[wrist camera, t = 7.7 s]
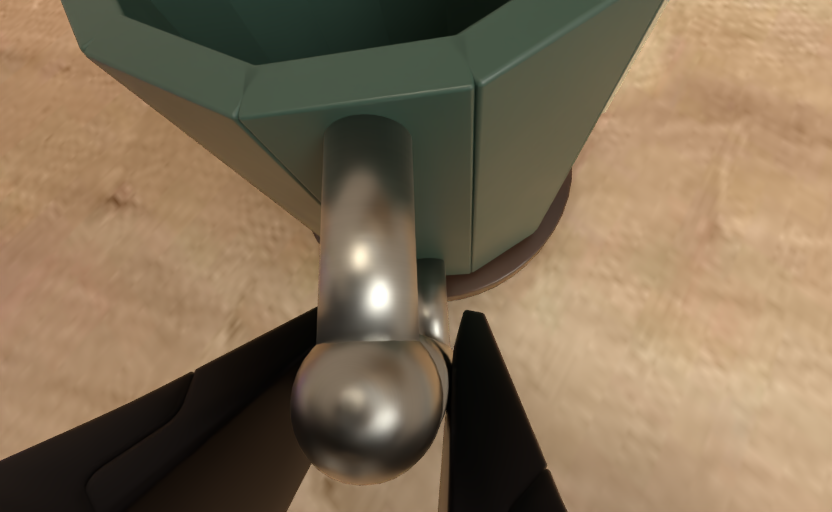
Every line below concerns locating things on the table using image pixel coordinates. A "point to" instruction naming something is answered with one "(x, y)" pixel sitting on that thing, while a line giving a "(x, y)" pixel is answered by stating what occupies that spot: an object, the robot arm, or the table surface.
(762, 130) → the table surface
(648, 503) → the table surface
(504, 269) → the round brown coaster
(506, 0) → the green mug on coaster
